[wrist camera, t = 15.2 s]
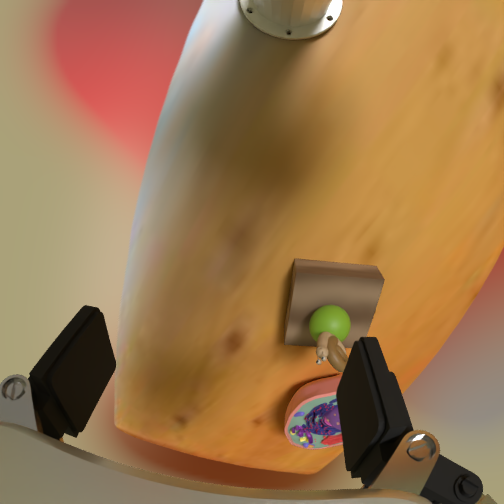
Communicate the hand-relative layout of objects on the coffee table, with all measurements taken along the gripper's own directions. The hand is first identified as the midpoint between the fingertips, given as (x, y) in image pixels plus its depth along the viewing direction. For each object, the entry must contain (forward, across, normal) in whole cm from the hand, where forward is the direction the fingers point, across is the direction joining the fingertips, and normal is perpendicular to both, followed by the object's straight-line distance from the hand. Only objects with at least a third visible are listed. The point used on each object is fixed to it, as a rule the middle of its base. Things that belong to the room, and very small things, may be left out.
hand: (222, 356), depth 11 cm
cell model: (+30, -16, +37) cm, 51 cm away
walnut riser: (+30, -11, +16) cm, 36 cm away
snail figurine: (+26, -10, +16) cm, 32 cm away
